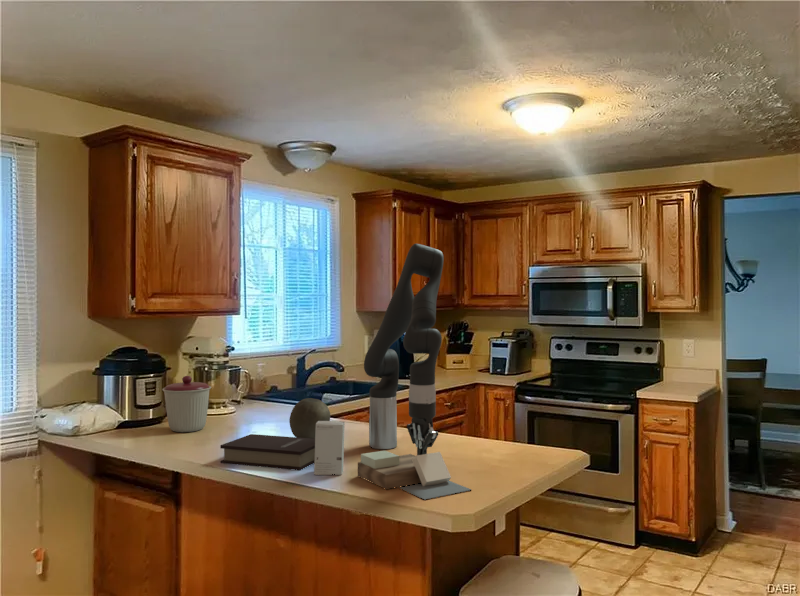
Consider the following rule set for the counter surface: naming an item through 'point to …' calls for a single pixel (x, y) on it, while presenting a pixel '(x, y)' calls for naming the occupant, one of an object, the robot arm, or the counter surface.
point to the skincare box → (329, 448)
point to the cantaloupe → (308, 417)
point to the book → (270, 451)
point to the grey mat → (435, 490)
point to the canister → (187, 405)
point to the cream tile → (431, 468)
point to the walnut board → (392, 473)
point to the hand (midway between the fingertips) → (421, 460)
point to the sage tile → (379, 459)
